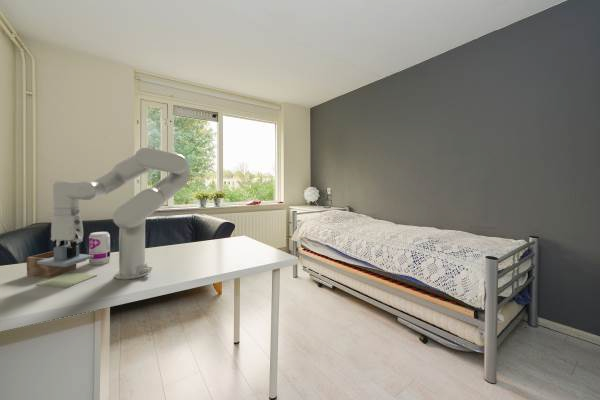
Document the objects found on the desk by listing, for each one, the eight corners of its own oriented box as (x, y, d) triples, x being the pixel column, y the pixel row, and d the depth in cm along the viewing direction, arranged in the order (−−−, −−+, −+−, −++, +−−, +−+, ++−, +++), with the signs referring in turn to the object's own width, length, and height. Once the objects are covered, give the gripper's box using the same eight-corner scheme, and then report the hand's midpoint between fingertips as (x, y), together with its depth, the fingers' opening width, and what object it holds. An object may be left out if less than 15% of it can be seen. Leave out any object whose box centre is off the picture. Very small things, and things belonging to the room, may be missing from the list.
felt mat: (96, 275, 109) (96, 275, 109) (65, 288, 96) (65, 287, 96) (70, 273, 111) (70, 272, 111) (35, 285, 98) (35, 284, 98)
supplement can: (98, 266, 121) (98, 235, 121) (84, 264, 123) (84, 233, 122) (114, 261, 129) (114, 232, 128) (101, 259, 131) (100, 231, 130)
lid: (93, 259, 108) (93, 243, 108) (64, 268, 96) (64, 250, 96) (68, 257, 110) (68, 241, 109) (37, 266, 98) (36, 248, 97)
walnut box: (76, 269, 116) (76, 252, 115) (50, 278, 105) (49, 259, 105) (55, 267, 117) (54, 250, 117) (27, 276, 106) (26, 257, 106)
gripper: (93, 212, 105) (93, 255, 106) (58, 209, 106) (58, 252, 108) (75, 214, 97) (75, 260, 98) (37, 211, 99) (38, 257, 100)
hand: (67, 256), depth 103 cm, fingers closed on lid, 3 cm apart
